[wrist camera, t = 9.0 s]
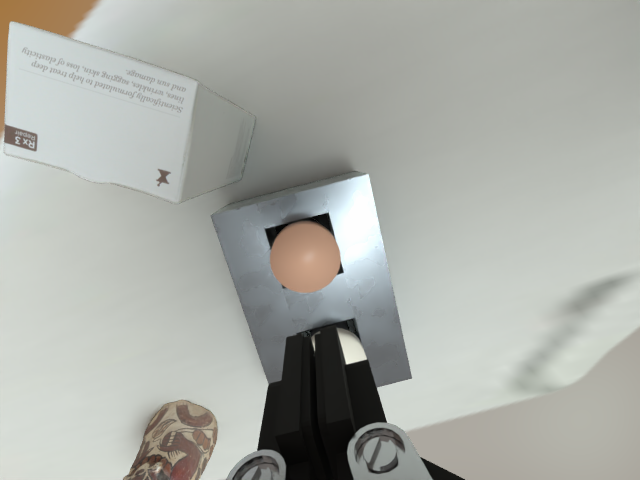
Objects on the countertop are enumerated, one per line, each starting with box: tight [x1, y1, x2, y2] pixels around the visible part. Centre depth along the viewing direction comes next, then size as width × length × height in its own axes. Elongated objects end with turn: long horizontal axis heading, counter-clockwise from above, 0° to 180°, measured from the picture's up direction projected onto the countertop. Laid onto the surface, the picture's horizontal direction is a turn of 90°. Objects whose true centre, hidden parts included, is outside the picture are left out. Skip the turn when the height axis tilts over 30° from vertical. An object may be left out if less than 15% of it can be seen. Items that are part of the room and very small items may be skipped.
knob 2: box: [310, 320, 367, 364], centre depth 29 cm, size 5×5×8 cm
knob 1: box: [270, 217, 341, 293], centre depth 27 cm, size 5×5×8 cm
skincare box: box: [4, 22, 256, 204], centre depth 21 cm, size 8×6×15 cm
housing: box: [211, 171, 412, 387], centre depth 29 cm, size 12×18×6 cm, turn 14°
